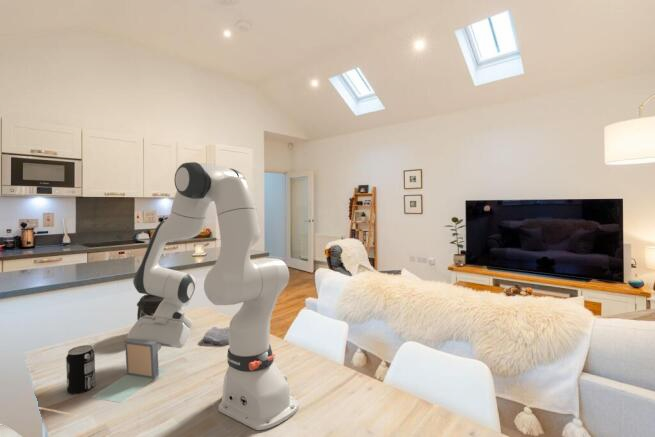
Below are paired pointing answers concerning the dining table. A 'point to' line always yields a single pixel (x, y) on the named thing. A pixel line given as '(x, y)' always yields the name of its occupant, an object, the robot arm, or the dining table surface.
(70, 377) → the beverage can
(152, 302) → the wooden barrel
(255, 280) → the robot arm
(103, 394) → the mat
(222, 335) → the stone block
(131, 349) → the slate tile
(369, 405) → the dining table surface
